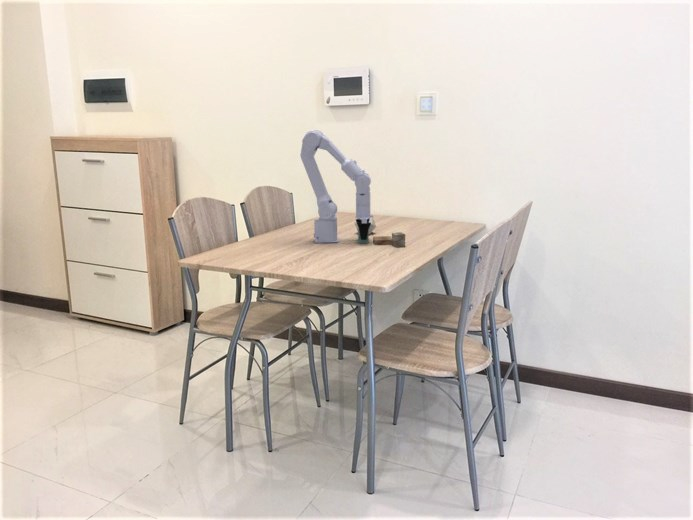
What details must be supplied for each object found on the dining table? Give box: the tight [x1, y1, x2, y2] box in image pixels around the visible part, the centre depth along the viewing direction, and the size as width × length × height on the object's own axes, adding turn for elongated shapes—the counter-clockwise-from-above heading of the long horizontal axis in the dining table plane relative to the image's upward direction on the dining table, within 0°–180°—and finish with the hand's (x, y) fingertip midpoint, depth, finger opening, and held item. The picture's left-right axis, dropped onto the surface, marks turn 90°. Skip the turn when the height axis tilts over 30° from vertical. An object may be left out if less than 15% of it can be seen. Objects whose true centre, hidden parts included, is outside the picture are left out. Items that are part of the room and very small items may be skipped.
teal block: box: [357, 229, 370, 244], centre depth 234 cm, size 4×4×5 cm
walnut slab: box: [372, 235, 392, 246], centre depth 231 cm, size 7×7×2 cm
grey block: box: [391, 231, 406, 248], centre depth 225 cm, size 4×4×5 cm
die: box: [354, 216, 377, 236], centre depth 249 cm, size 8×9×10 cm
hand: (363, 238), depth 234 cm, fingers open, 5 cm apart
